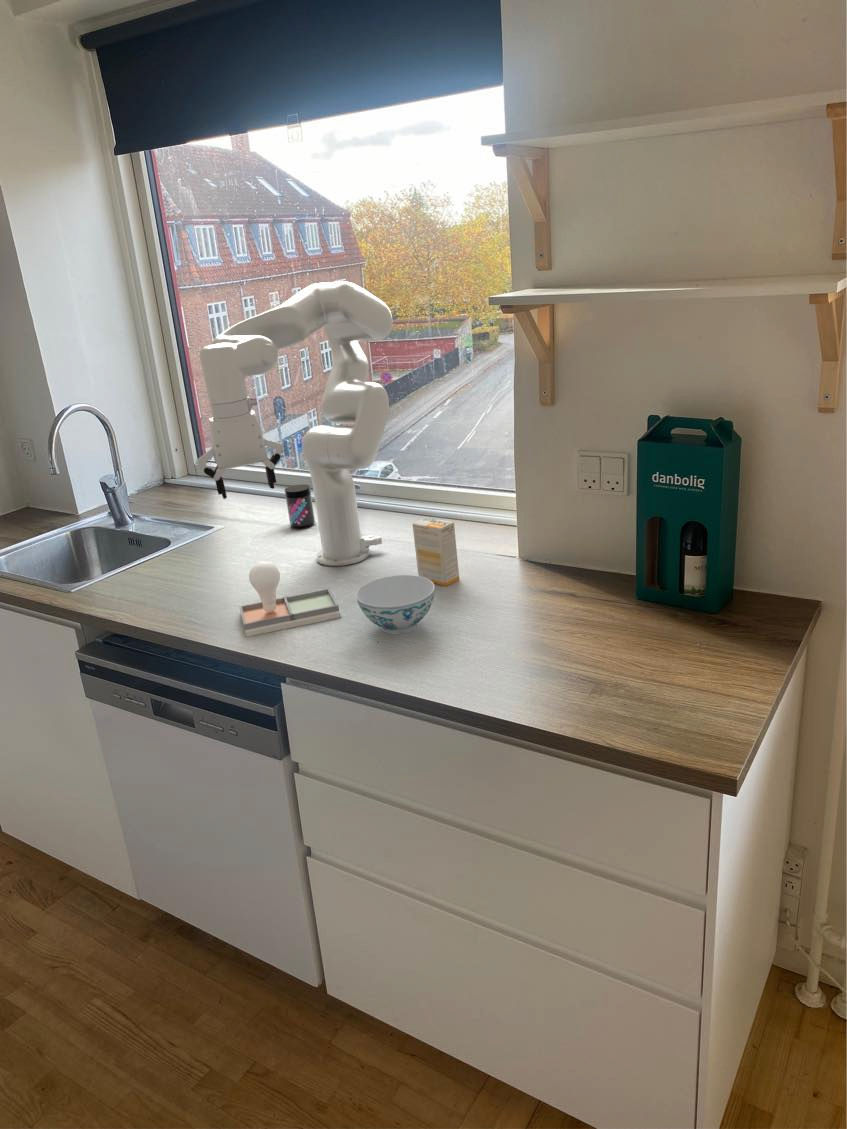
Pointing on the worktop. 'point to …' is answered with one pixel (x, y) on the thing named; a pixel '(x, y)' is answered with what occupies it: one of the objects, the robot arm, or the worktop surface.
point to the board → (290, 612)
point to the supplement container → (300, 506)
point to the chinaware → (396, 601)
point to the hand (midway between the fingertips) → (248, 491)
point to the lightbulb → (265, 583)
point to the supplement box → (436, 550)
